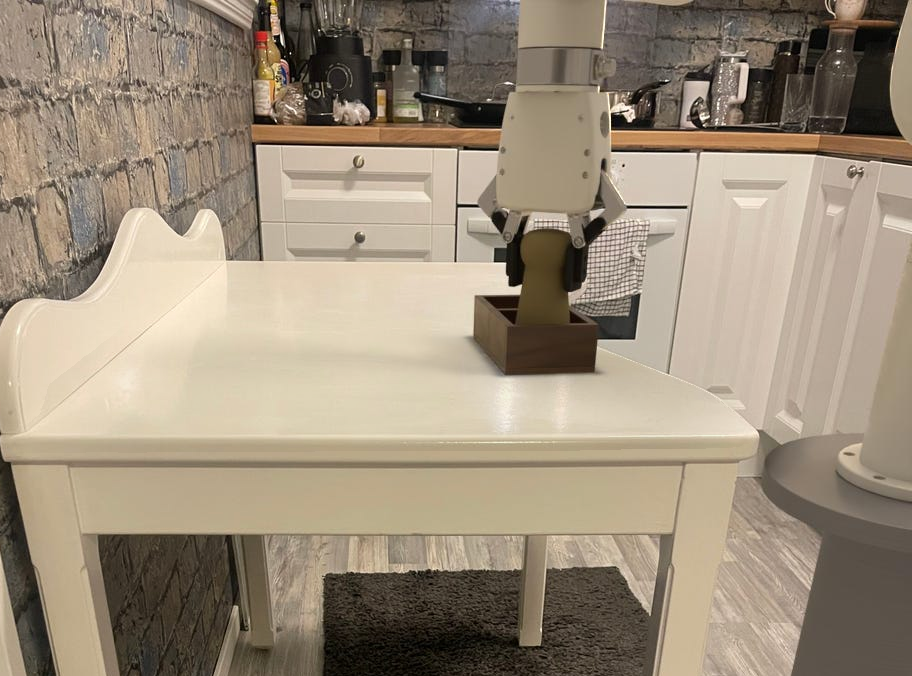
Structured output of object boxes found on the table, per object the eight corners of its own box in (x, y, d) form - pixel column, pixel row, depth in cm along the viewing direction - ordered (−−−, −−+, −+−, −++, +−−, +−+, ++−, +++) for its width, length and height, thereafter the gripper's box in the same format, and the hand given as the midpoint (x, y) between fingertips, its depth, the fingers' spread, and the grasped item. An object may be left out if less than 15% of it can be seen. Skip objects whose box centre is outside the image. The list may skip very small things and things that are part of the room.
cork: (503, 349, 95) (508, 230, 90) (521, 337, 100) (527, 224, 95) (562, 354, 93) (571, 233, 88) (577, 342, 98) (586, 227, 93)
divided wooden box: (594, 372, 94) (599, 324, 92) (505, 374, 93) (507, 326, 91) (550, 335, 109) (553, 293, 107) (473, 337, 108) (474, 295, 106)
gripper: (663, 75, 84) (640, 290, 93) (490, 76, 92) (483, 275, 100) (637, 72, 79) (614, 301, 88) (454, 73, 86) (450, 285, 95)
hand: (544, 285), depth 94 cm, fingers closed on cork, 5 cm apart
